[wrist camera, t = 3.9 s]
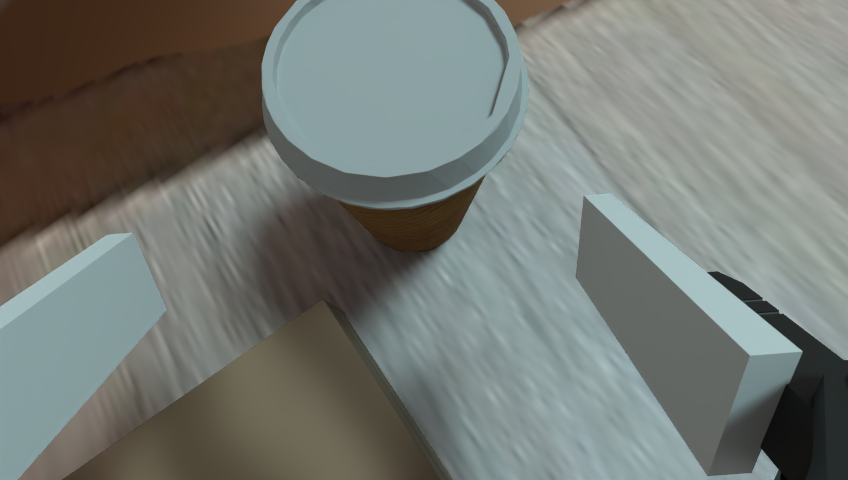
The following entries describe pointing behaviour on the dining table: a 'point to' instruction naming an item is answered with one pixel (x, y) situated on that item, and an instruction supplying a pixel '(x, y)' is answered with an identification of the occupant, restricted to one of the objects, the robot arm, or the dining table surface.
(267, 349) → the walnut base
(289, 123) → the disposable coffee cup
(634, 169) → the dining table surface
